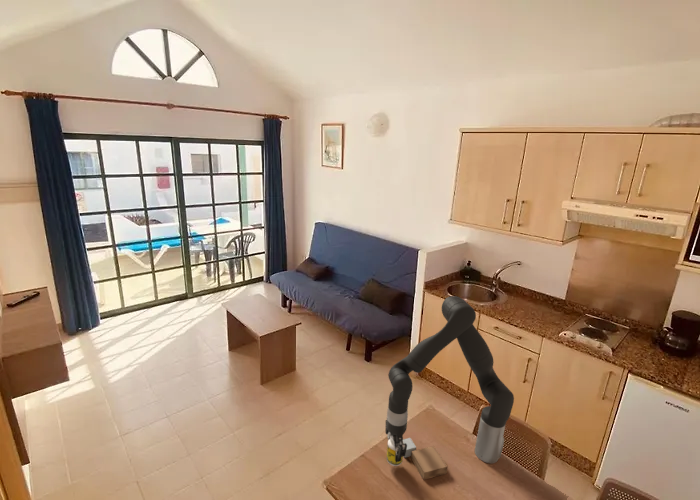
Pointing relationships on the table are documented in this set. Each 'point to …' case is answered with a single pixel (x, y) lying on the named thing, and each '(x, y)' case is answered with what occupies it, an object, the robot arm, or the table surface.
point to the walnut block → (429, 462)
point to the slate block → (409, 447)
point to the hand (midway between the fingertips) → (394, 453)
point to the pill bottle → (392, 453)
